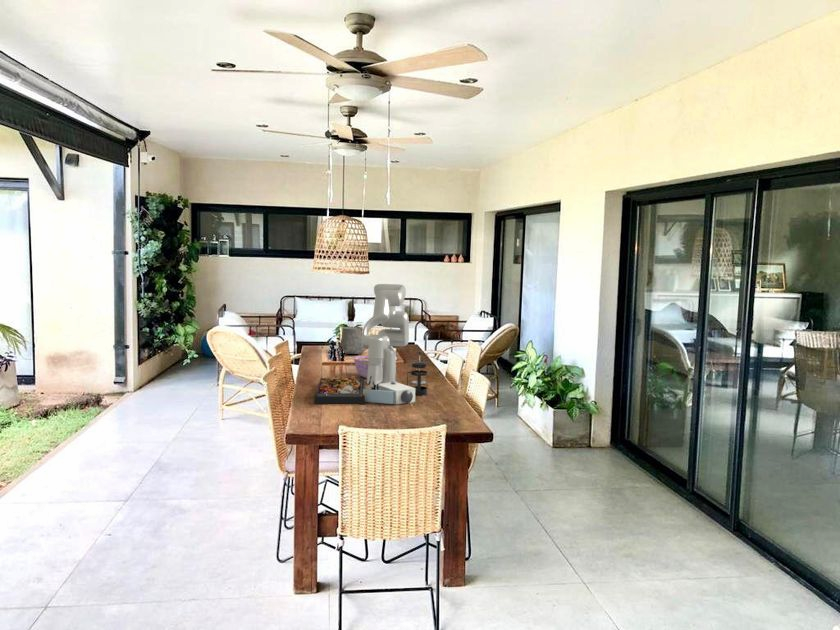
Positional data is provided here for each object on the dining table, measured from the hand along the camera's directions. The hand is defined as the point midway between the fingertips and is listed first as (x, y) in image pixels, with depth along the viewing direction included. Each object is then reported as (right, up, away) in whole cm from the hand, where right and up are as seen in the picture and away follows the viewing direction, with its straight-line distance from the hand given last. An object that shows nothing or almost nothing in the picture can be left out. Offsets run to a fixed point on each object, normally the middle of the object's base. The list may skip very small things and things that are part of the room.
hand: (374, 397), depth 318 cm
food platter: (-19, -1, +15) cm, 24 cm away
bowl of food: (-7, +4, +62) cm, 63 cm away
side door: (+2, -2, -5) cm, 6 cm away
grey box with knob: (+10, -2, +6) cm, 12 cm away
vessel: (-27, +12, +145) cm, 148 cm away
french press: (+21, -1, +21) cm, 30 cm away
